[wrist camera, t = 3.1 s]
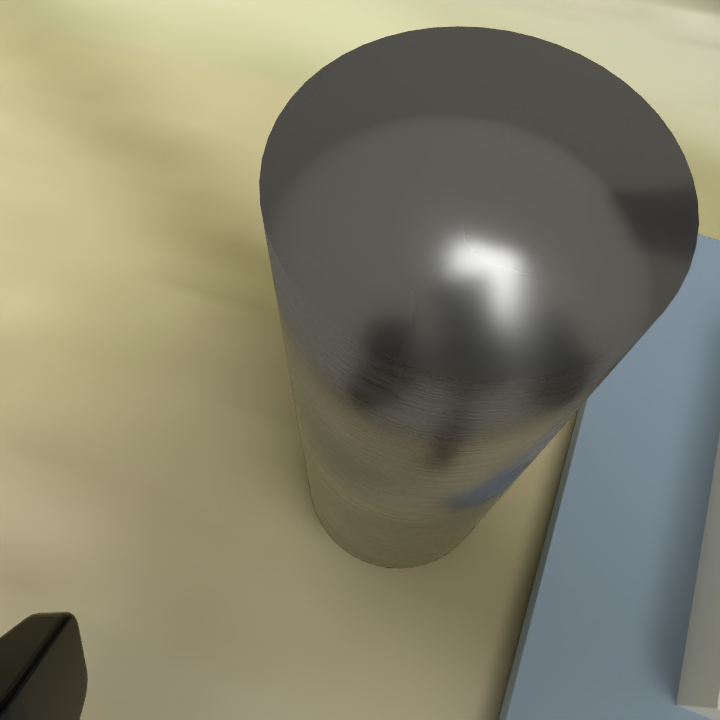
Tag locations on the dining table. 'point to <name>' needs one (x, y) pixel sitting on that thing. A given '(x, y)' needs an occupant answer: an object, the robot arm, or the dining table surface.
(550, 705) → the blue square board
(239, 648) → the dining table surface
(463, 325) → the shaft
